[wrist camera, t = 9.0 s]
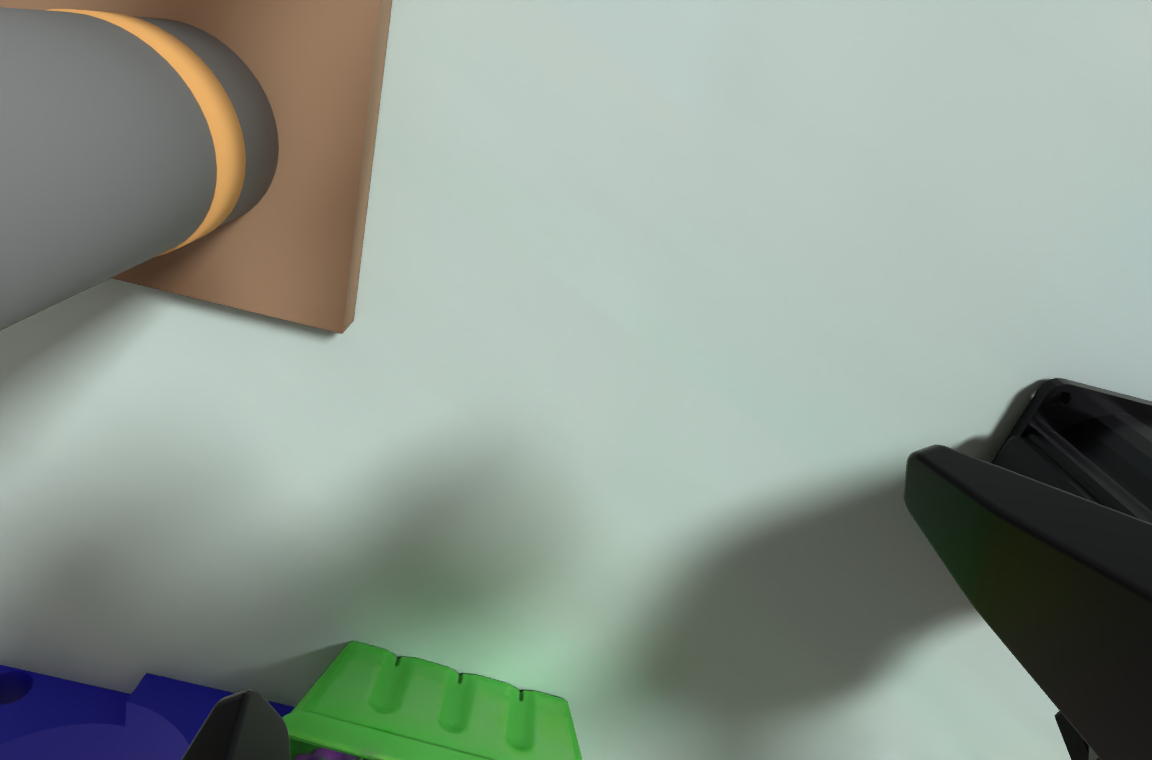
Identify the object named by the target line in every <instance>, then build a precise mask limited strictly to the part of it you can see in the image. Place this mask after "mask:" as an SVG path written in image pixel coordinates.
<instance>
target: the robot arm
mask: <svg viewBox="0 0 1152 760" xmlns="http://www.w3.org/2000/svg"><path fill="white" fill-rule="evenodd" d="M1060 392H1062V394H1061V396H1060V397H1059V398H1058V399H1055V400H1053V398H1054V396H1055V395H1056V394H1058V393H1060ZM904 500H905V504H906V506H907V508H908V510H909V512H910V514H911V515H912V517H913V518H914V520H915V521H916V523H917V524H918V526H919V527H920V529H921V530H922V532H923V533H924V535H925V536H926V537H927V539H928V540H929V542H930V543H931V545H932V546H933V548H934V549H935V551H936V552H937V554H938V555H939V557H940V558H941V560H942V561H943V563H944V564H945V566H946V567H947V569H948V570H949V572H950V573H951V575H952V576H953V578H954V579H955V581H956V582H957V584H958V585H959V587H960V588H961V590H962V591H963V592H964V594H965V595H966V597H967V598H968V599H969V601H970V602H971V604H972V605H973V606H974V608H975V609H976V610H977V611H978V613H979V614H980V615H981V616H982V618H983V619H984V620H985V621H986V623H987V624H988V625H989V626H990V627H991V629H992V630H993V631H994V632H995V633H996V635H997V636H998V637H999V638H1000V639H1001V641H1002V642H1003V643H1004V644H1005V645H1006V647H1007V648H1008V649H1009V650H1010V651H1011V653H1012V654H1013V655H1014V656H1015V657H1016V659H1017V660H1018V661H1019V662H1020V663H1021V665H1022V666H1023V667H1024V668H1025V669H1026V671H1027V672H1028V673H1029V674H1030V675H1031V677H1032V678H1033V679H1034V680H1035V681H1036V683H1037V684H1038V685H1039V686H1040V688H1041V689H1042V690H1043V691H1044V692H1045V694H1046V695H1047V696H1048V697H1049V698H1050V700H1051V701H1052V702H1053V703H1054V704H1055V706H1056V707H1057V708H1058V709H1059V710H1060V711H1059V712H1058V713H1057V714H1056V715H1055V719H1056V721H1057V724H1058V726H1059V729H1060V732H1061V734H1062V737H1063V739H1064V742H1065V744H1066V747H1067V750H1068V752H1069V755H1070V757H1071V760H1152V402H1151V401H1147V400H1143V399H1139V398H1136V397H1132V396H1128V395H1124V394H1120V393H1116V392H1113V391H1109V390H1105V389H1101V388H1097V387H1093V386H1089V385H1086V384H1082V383H1078V382H1074V381H1070V380H1066V379H1062V378H1055V379H1051V380H1048V381H1047V382H1045V383H1044V384H1042V385H1041V387H1040V388H1039V389H1038V390H1037V392H1036V393H1035V395H1034V397H1033V398H1032V400H1031V401H1030V403H1029V405H1028V406H1027V408H1026V409H1025V411H1024V412H1023V414H1022V416H1021V417H1020V419H1019V420H1018V422H1017V424H1016V425H1015V427H1014V428H1013V430H1012V431H1011V433H1010V435H1009V436H1008V438H1007V439H1006V441H1005V443H1004V444H1003V446H1002V447H1001V449H1000V450H999V452H998V454H997V455H996V457H995V458H994V460H993V461H992V463H988V462H986V461H983V460H981V459H978V458H975V457H973V456H970V455H967V454H965V453H962V452H959V451H957V450H954V449H951V448H949V447H946V446H942V445H933V446H929V447H927V448H924V449H921V450H918V451H915V452H913V453H911V454H910V456H909V457H908V459H907V465H906V475H905V485H904ZM181 760H291V758H290V741H289V733H288V729H287V726H286V724H285V722H284V720H283V718H282V717H281V716H280V715H279V714H278V713H277V711H276V710H275V709H274V708H273V707H272V706H271V705H270V704H269V702H268V701H267V700H266V699H265V698H264V697H263V696H262V694H261V693H260V692H259V691H257V690H255V689H252V688H251V689H246V690H243V691H240V692H238V693H235V694H232V695H229V696H226V697H224V698H222V699H221V700H219V701H218V702H217V704H216V705H215V706H214V707H213V709H212V710H211V712H210V714H209V715H208V717H207V718H206V720H205V722H204V723H203V725H202V726H201V728H200V730H199V731H198V733H197V734H196V736H195V738H194V739H193V741H192V743H191V744H190V746H189V747H188V749H187V751H186V752H185V754H184V755H183V757H182V759H181Z"/></svg>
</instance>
